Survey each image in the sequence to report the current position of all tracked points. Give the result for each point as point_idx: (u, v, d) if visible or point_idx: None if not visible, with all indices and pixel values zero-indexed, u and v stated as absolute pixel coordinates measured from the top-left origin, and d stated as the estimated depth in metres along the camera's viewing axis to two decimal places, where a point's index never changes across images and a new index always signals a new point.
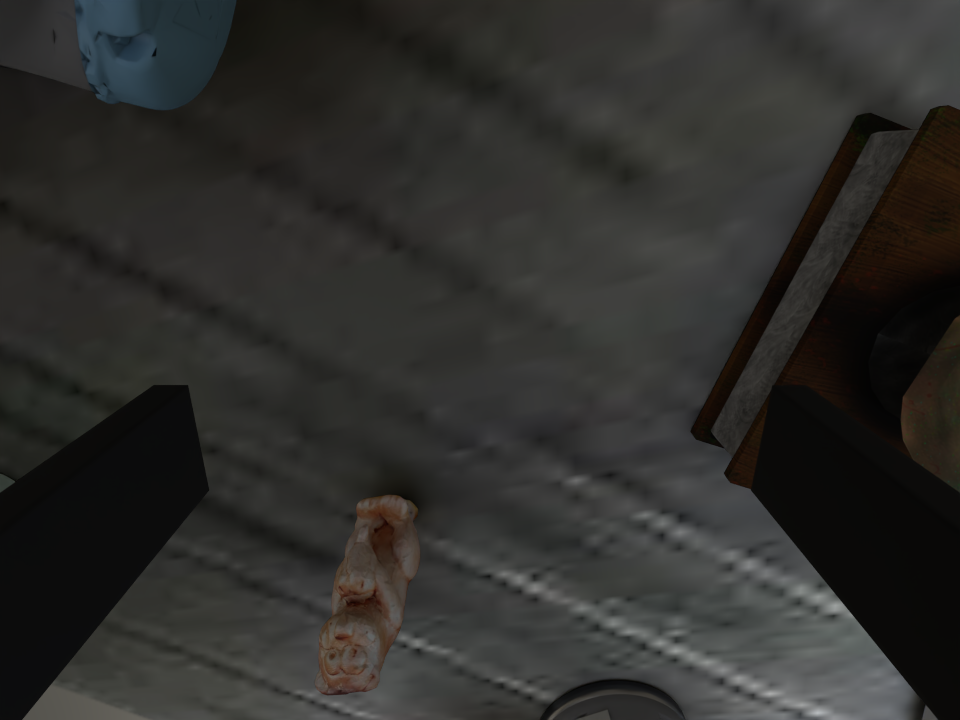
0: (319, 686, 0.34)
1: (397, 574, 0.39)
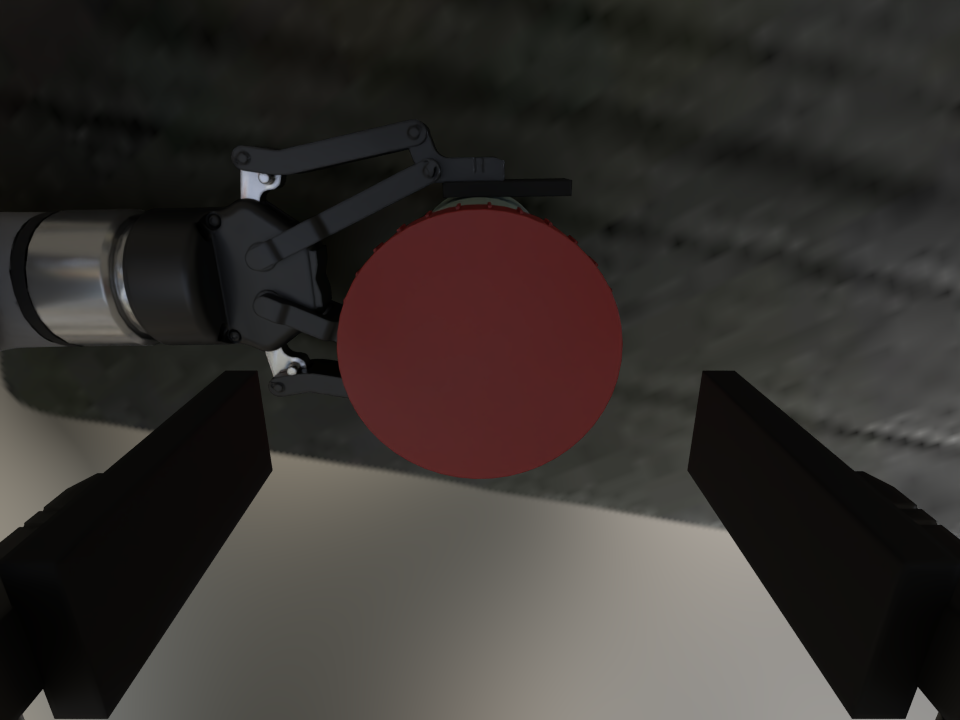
0: None
1: None
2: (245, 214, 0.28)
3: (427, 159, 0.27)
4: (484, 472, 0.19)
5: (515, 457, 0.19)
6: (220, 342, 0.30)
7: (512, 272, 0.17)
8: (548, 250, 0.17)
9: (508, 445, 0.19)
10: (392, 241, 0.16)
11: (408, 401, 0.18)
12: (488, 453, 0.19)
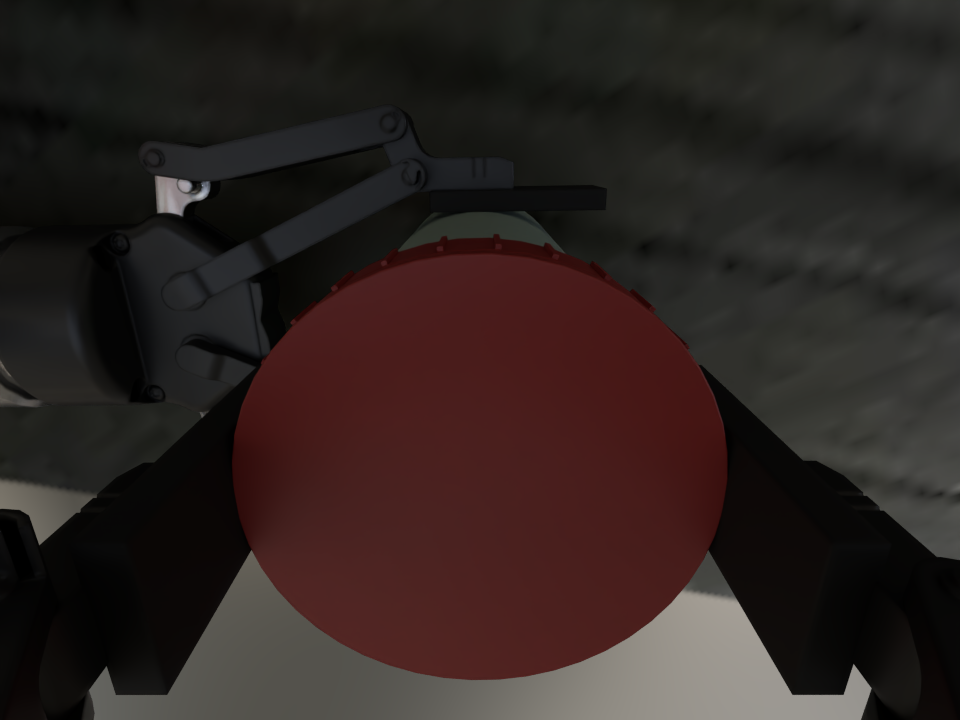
0: None
1: None
2: (162, 234, 0.21)
3: (407, 160, 0.19)
4: (487, 671, 0.12)
5: (538, 650, 0.12)
6: (135, 403, 0.23)
7: (539, 364, 0.09)
8: (605, 326, 0.09)
9: (527, 633, 0.11)
10: (320, 310, 0.09)
11: (359, 569, 0.11)
12: (494, 644, 0.12)
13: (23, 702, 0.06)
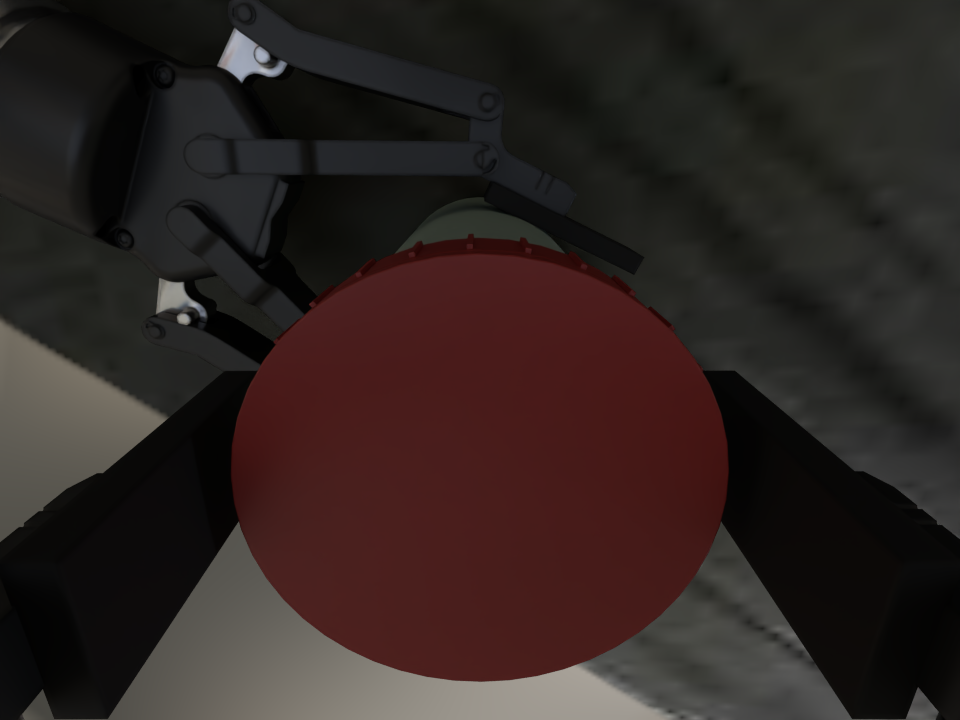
0: None
1: None
2: (213, 89, 0.19)
3: (489, 144, 0.19)
4: (702, 535, 0.10)
5: (692, 482, 0.10)
6: (98, 239, 0.21)
7: (340, 426, 0.10)
8: (309, 364, 0.09)
9: (663, 489, 0.10)
10: (271, 577, 0.11)
11: (532, 612, 0.11)
12: (667, 522, 0.10)
13: None
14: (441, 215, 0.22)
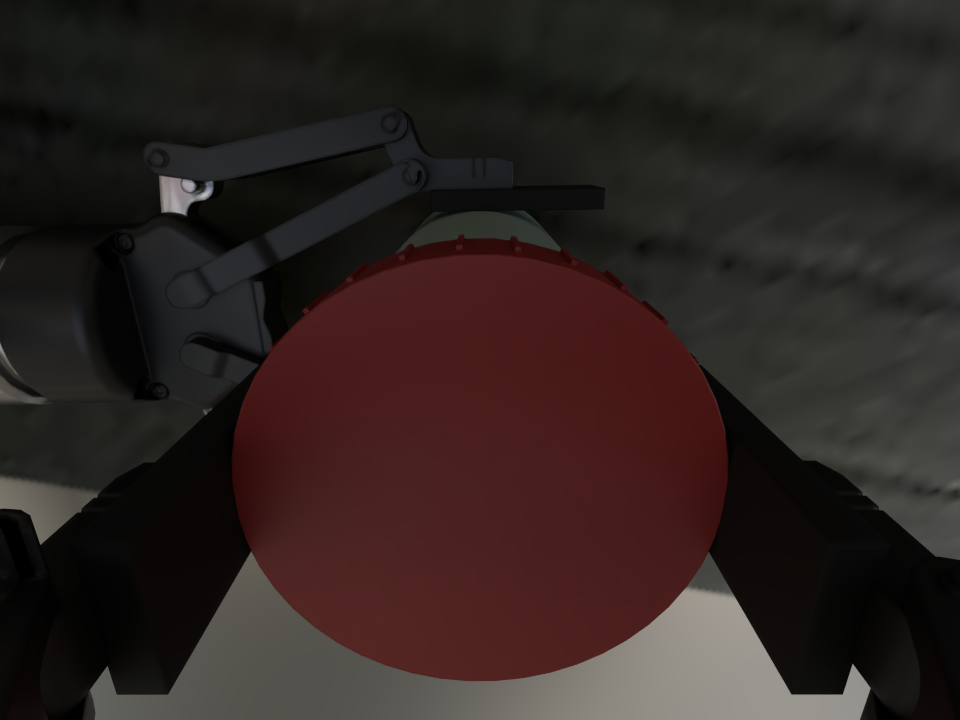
0: None
1: None
2: (166, 234, 0.21)
3: (408, 160, 0.19)
4: (712, 444, 0.10)
5: (671, 398, 0.10)
6: (139, 400, 0.23)
7: (323, 487, 0.10)
8: (267, 445, 0.10)
9: (646, 417, 0.10)
10: (340, 639, 0.11)
11: (586, 582, 0.11)
12: (668, 446, 0.10)
13: (24, 701, 0.06)
14: None
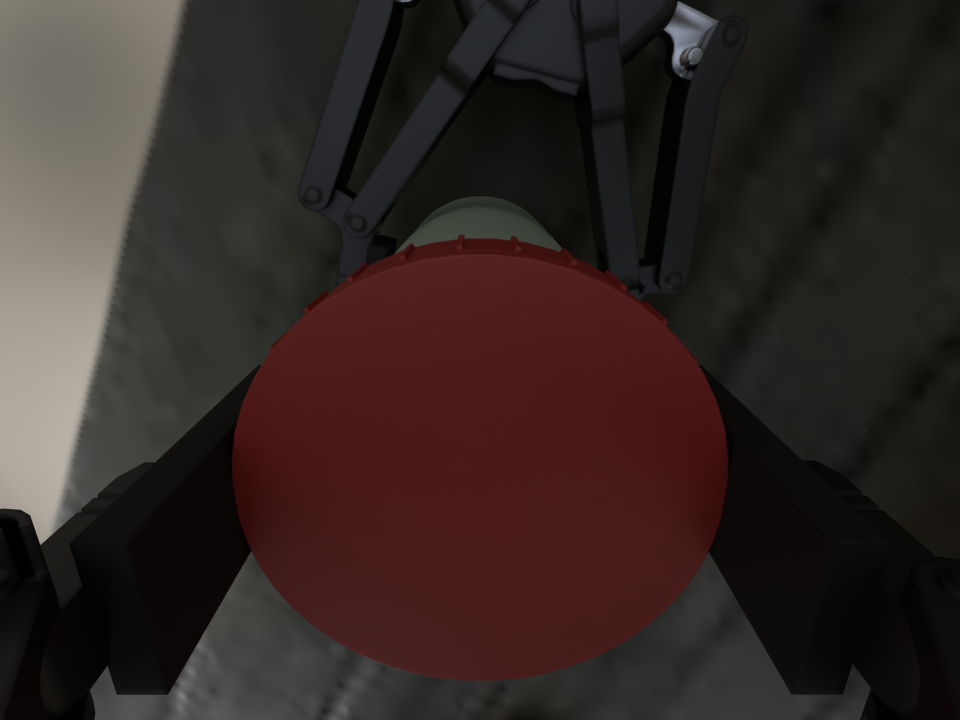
0: None
1: None
2: (659, 2, 0.19)
3: (644, 293, 0.21)
4: (712, 444, 0.10)
5: (671, 398, 0.10)
6: None
7: (323, 487, 0.10)
8: (267, 445, 0.10)
9: (646, 417, 0.10)
10: (340, 639, 0.11)
11: (586, 582, 0.11)
12: (668, 446, 0.10)
13: (24, 701, 0.06)
14: None
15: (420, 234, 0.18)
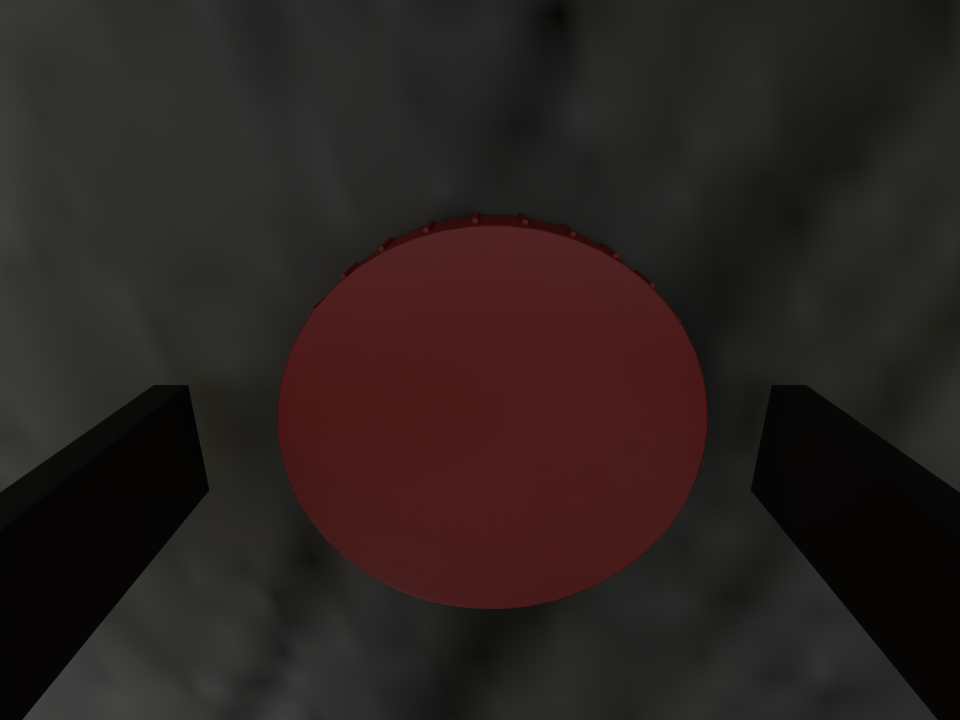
0: None
1: None
2: None
3: None
4: (693, 392, 0.11)
5: (657, 351, 0.11)
6: None
7: (356, 431, 0.12)
8: (309, 393, 0.11)
9: (635, 368, 0.11)
10: (368, 570, 0.13)
11: (585, 517, 0.12)
12: (655, 394, 0.11)
13: None
14: None
15: None
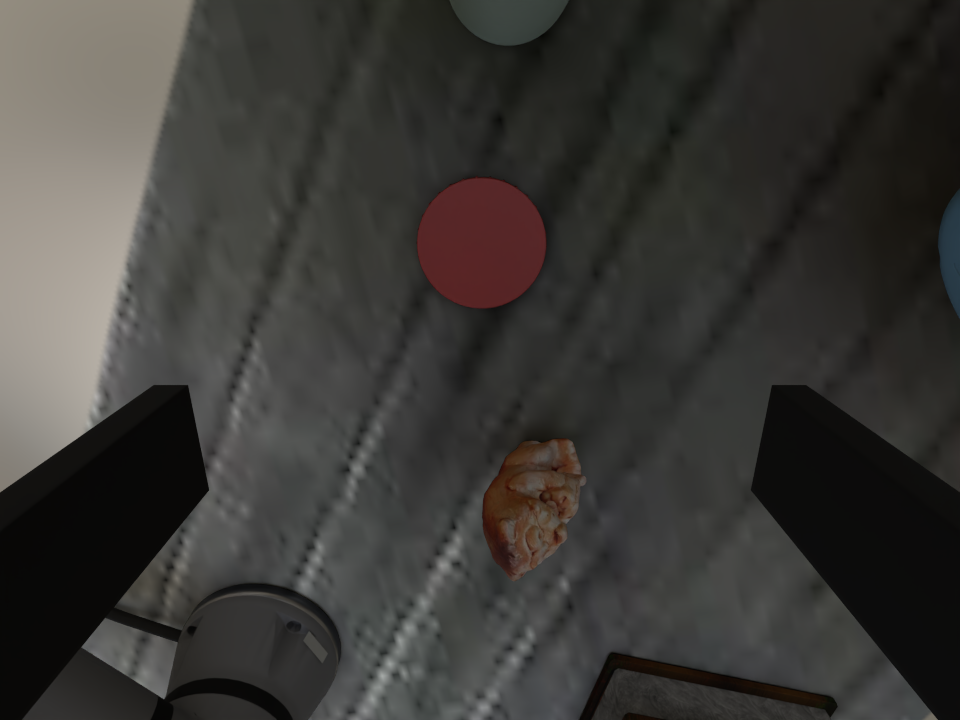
0: (509, 532, 0.32)
1: None
2: None
3: None
4: (540, 228, 0.39)
5: (529, 215, 0.38)
6: None
7: (441, 241, 0.39)
8: (427, 229, 0.39)
9: (523, 220, 0.39)
10: (442, 292, 0.40)
11: (511, 272, 0.40)
12: (529, 229, 0.39)
13: None
14: None
15: None
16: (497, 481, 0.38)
